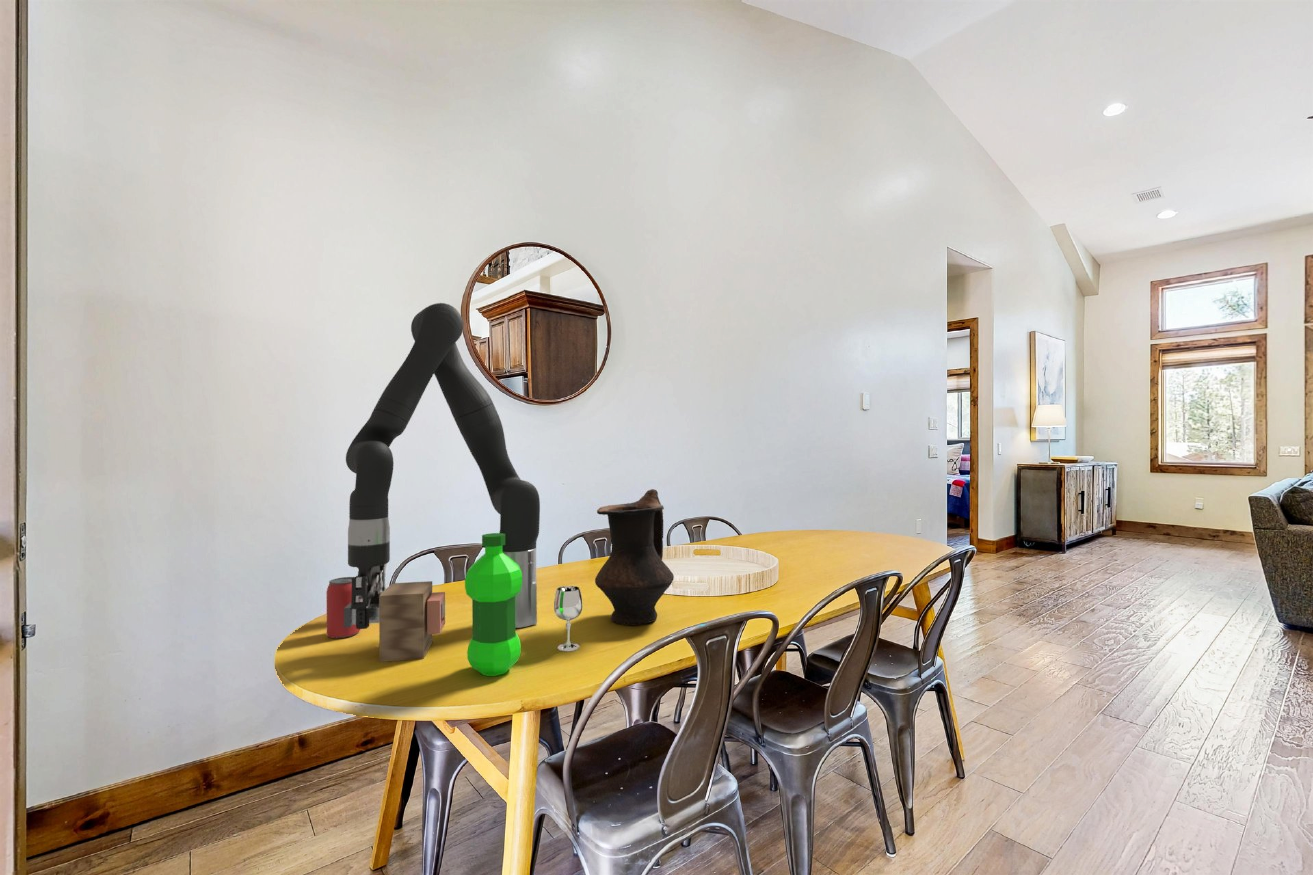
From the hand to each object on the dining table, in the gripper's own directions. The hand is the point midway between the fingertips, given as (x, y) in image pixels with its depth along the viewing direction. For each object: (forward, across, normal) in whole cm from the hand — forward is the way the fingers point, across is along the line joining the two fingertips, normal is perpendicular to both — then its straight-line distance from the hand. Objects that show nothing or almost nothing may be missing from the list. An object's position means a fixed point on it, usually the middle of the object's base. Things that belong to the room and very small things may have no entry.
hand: (368, 621), depth 117 cm
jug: (+6, +11, -56) cm, 58 cm away
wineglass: (+6, -5, -39) cm, 40 cm away
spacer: (+2, 0, -13) cm, 13 cm away
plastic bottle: (+6, -14, -25) cm, 30 cm away
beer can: (+7, +14, +9) cm, 18 cm away
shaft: (0, 0, -5) cm, 5 cm away
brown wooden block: (+6, 0, -7) cm, 10 cm away
